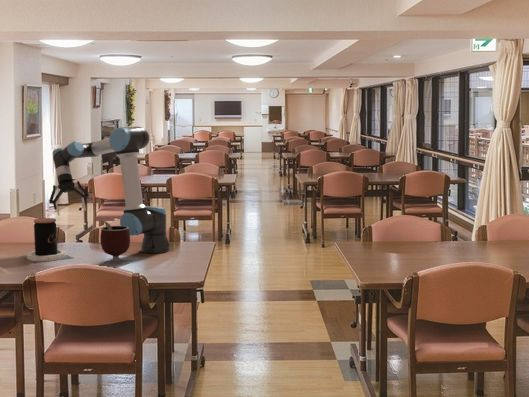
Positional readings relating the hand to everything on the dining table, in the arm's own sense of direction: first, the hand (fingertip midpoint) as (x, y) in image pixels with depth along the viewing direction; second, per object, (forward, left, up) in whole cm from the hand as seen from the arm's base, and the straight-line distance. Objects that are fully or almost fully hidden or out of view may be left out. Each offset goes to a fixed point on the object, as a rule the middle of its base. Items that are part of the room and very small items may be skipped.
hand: (72, 212), depth 382 cm
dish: (-12, +19, -20) cm, 30 cm away
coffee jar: (-12, +19, -19) cm, 29 cm away
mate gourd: (-43, -3, -20) cm, 48 cm away
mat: (-12, +19, -20) cm, 30 cm away
